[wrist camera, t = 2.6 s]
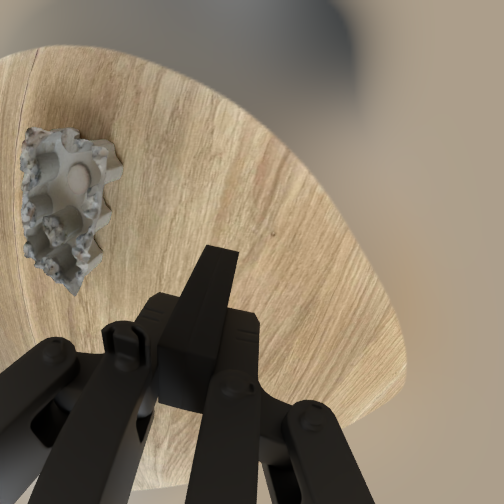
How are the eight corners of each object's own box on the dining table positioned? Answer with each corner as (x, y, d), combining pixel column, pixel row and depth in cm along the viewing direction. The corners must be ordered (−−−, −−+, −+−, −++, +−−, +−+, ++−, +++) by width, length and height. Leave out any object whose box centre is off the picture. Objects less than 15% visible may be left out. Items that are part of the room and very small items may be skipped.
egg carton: (63, 117, 15) (25, 118, 11) (140, 151, 16) (108, 157, 12) (36, 238, 18) (6, 257, 15) (100, 279, 20) (74, 307, 16)
